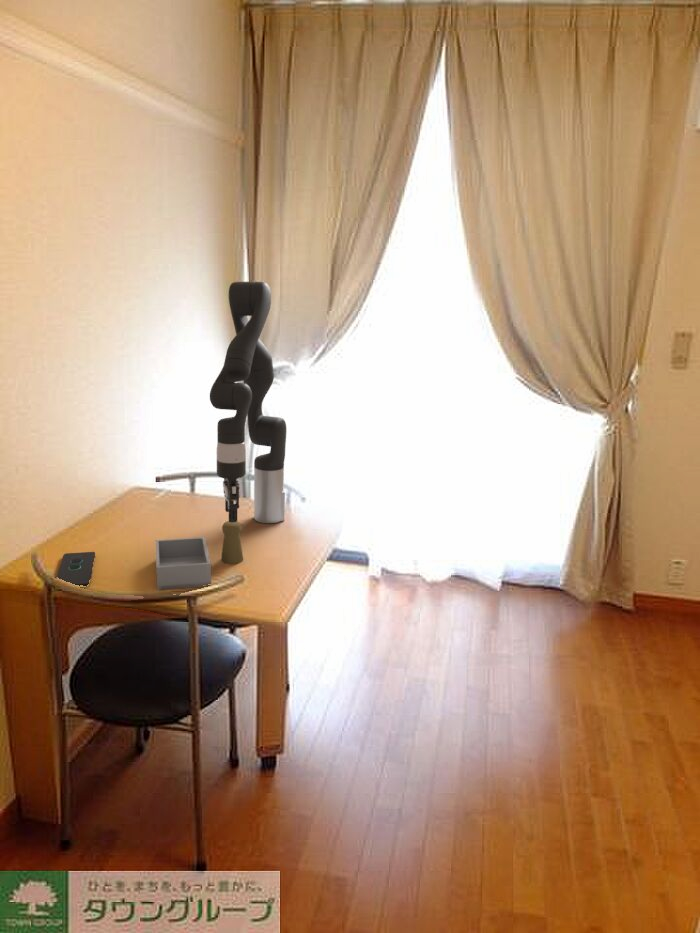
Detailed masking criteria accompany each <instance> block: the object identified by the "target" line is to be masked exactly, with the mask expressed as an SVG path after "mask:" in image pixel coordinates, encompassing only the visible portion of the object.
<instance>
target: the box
mask: <svg viewBox="0 0 700 933" xmlns="http://www.w3.org/2000/svg"><path fill="white" fill-rule="evenodd" d="M155 565H156V566H155V568H156V569H155V570H156V590H157V591H161V590H162V591H165V590H174V589H175V590H176V589H186V588H201V587H204V586H203V585H208V584H211V585H212V573H211V572H212V571H211V570H212V568H211V565H212V564H211V560H210V554H209V549H208V545H207V540H206V536H201V537H186V538H182V537H181V538H169V539H167V538H166V539H156V540H155ZM200 586H201V587H200Z"/></svg>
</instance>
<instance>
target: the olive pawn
mask: <svg viewBox="0 0 700 933" xmlns="http://www.w3.org/2000/svg"><path fill="white" fill-rule="evenodd" d="M221 528H222V529H221V530H222V532H223V535H224V536H223V542H222V550H221V558H220V561H221V563H223V564H226V565H238V564H240V563H242V562H244V556H243V549H242V540H241V533H242V531H243V527H242V524H241V522H240V521H237V522H229V520H227V521H225V522H224V523H223V524H222V526H221Z"/></svg>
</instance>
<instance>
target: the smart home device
mask: <svg viewBox="0 0 700 933" xmlns="http://www.w3.org/2000/svg"><path fill="white" fill-rule="evenodd" d="M94 558H95V559H96V552H95V551H84V552H83V551H82V552H68V553H64V554H63V556H62V559H61V562H60V564H59V567H58V570H57V573H56V576H55V578H56V577H58V578H59V579H62V580H64V581H66V582H70V583H72V584H75V585H79V586H80V585H83V586H87V585H88V584H89V585H90V583H89V580H90V579H91V580H92V576H91V574H92V575H93V570H92V567H93V568H94V565H93V562H94V563H95V561H94Z"/></svg>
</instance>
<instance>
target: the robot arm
mask: <svg viewBox="0 0 700 933" xmlns="http://www.w3.org/2000/svg"><path fill="white" fill-rule="evenodd" d="M228 304H229V308H230V314H231V318H232V322H233V325H234V326H233V327H234V331H235V336H234V337H233V338H232V340H231V341H230V343H229V344H228V347H227V348H226V354H225V359H224V361H223V366H222V369H221V370H220V372H219V374H218V376H217V377H216V379H215V380H214V381H213V384H212V386H211V388H210V392H209V401H210V404H211V405H212V406H213V407H214V409H217V410H229V411H236V412H235V415H234V416H231V417H225V418H221V419H219V420H218V421H217V430H216V432H217V445H216V475H217V477H218V478H222V479H223V480H222V486H223V489H222V491H223V494H224V495H223V497H224V498H225V502H224V508H225V509H224V510H225V512H226V513H228V521H229V522H238V509H239V508H240V483H239V481H238V479H240V478H243V477H244V476H246V471H247V470H246V468H247V466H246V463H247V461H246V459H247V458H246V457H247V456H246V455H247V454H246V441H245V440H246V438H245V436H246V433H245V432H246V431H245V430H246V429H245V428H246V421H247V427H248V428H247V429H248V437H249V439H250V441H251V443H253V445H257V446H264V447H270V450H269V453H265V454H261V455H258V456H256V457H255V458H254V461H253V462H254V463H253V464H254V465H253V467H254V468H253V469H254V471H253V473H254V476H253V480H254V481H253V482H254V483H253V485H254V487H253V490H254V492H253V493H254V494H253V497H254V498H253V505H254V506H253V508H254V509H253V510H254V511H253V514H254V516H253V519H254V521H256V522H258V523H261V524H262V523H263V524H275V523H280V522H284V521H285V515H286V514H285V513H286V510H285V508H286V507H285V506H286V502H285V501H286V492H285V490H284V489H285V488H284V486H285V485H284V480H285V479H284V478H285V477H284V476H285V474H284V473H285V472H284V471H285V458H286V443H287V423H286V421H285V419H284V418H282V417H279V416H268V415H264V414H263V402H264V399H265V397H266V395H267V394H268V392H269V391H270V388H271V387H272V385H273V382H274V378H275V373H274V365H273V358H272V355H271V353H270V351H269V349H268V348H267V347H266V345H265V344H264V343H263V342H262V341H261V339H260V337H261V333H262V332H263V330H264V327H265V324H266V321H267V319H268V316H269V313H270V310H271V305H272V292H271V288H270V286H269V284H268V283H266V282H264V281H233V282H232V283H231V284H230V285H229V288H228ZM249 316H250V319H249ZM242 381H243V382H242Z"/></svg>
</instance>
